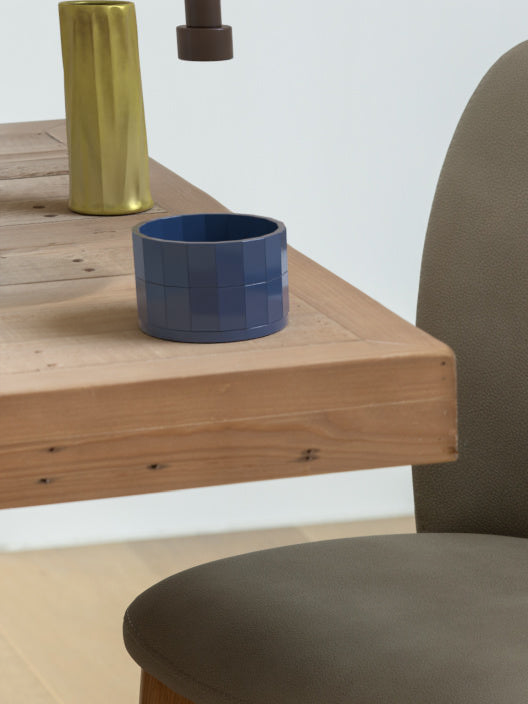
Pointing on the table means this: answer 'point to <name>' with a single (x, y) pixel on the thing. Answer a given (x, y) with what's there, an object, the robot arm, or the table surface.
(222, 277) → the bowl
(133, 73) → the vase
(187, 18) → the stir stick
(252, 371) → the table surface
